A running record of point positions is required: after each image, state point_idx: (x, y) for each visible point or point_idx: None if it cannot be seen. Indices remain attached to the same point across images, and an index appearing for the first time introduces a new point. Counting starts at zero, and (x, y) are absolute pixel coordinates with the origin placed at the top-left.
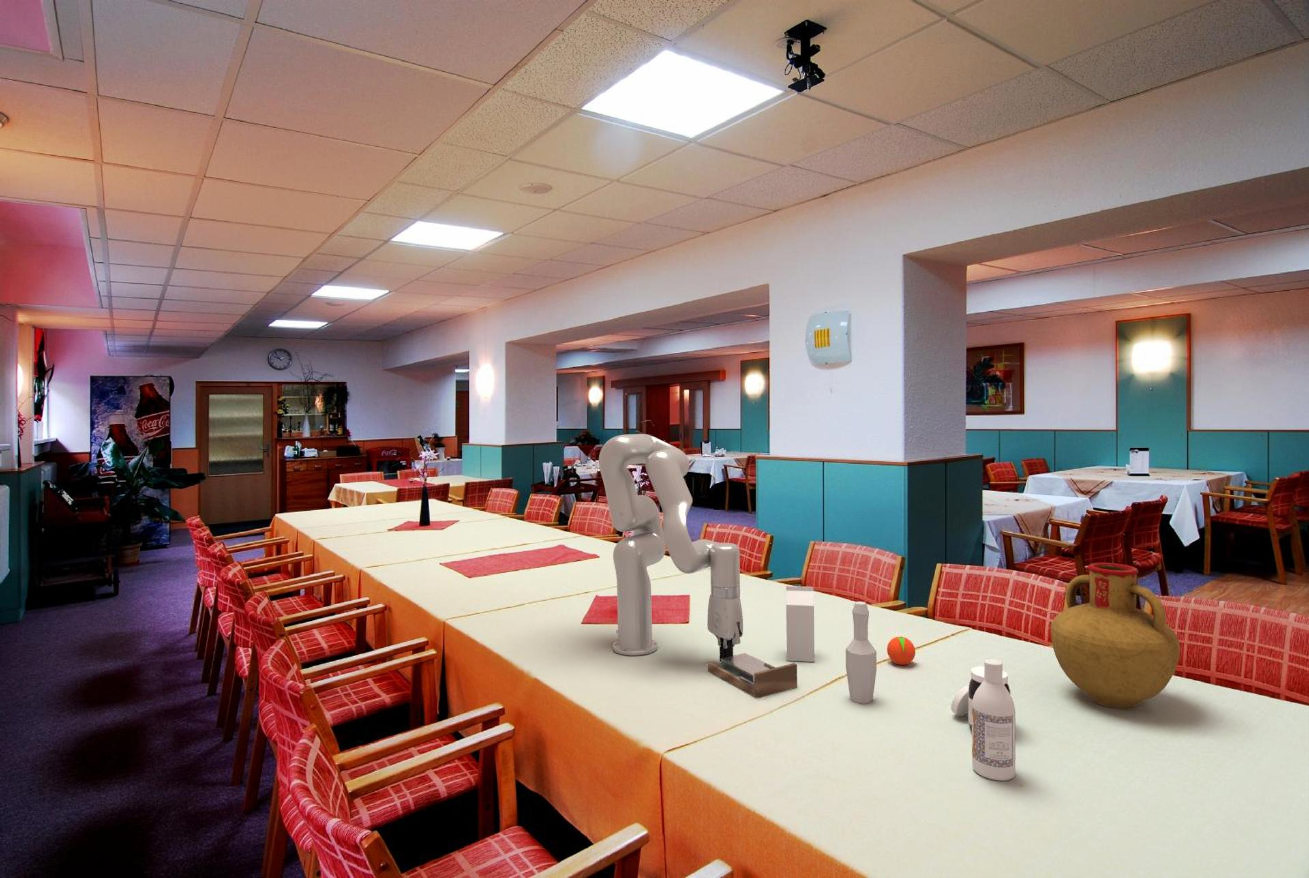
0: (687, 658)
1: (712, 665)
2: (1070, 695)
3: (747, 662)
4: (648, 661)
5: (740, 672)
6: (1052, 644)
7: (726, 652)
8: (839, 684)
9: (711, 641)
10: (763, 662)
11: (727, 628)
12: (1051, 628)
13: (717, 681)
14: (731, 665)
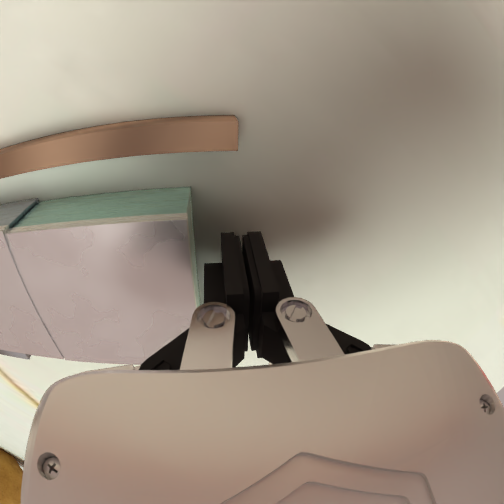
0: (440, 151)
1: (176, 126)
2: (7, 451)
3: (65, 310)
4: (490, 14)
5: (4, 220)
6: (2, 488)
7: (213, 293)
8: (6, 386)
9: (451, 318)
10: (52, 354)
11: (34, 497)
12: (3, 501)
13: (66, 88)
14: (69, 222)
